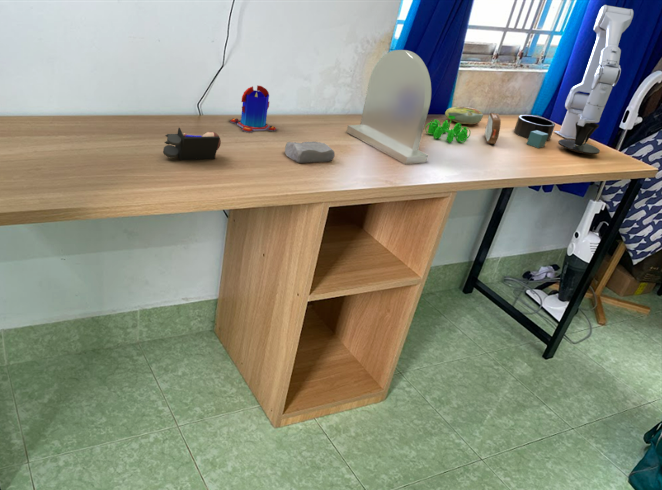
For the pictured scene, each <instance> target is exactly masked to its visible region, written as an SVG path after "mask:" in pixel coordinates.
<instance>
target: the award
mask: <svg viewBox="0 0 662 490" xmlns="http://www.w3.org/2000/svg"><path fill="white" fill-rule="evenodd" d="M431 81H432V80H431V77H430V73H429V70H428V67H427V66H426V64H425V62H424V61H423V59H422V58H421V57H420V56H419V55H418V54H417V53H415V52H414V51H411V50H407V49H395V50H390V51H388V52H387V53H385V54H384V55H382V56H381V57H380V59H379V60H378V61H377V62H376V64H375V65H374V67H373V69H372V72H371V73H370V77H369V80H368V84H367V88H366V93H365V98H364V99H365V100H364V104H363V109H362V114H361V119H360V124H349V125H347V128H346V133H347V134H349V135H351V136H352V137H355V138H356V139H358V140H360V141H363V143H365V144H367V145H369V146H371V147H373V148H374V149H376V150H378V151H379V152H382V153H384V154H386V155H387V156H389V157H391V158H392V159H395V160H396V161H398V162H400V163H402V164H404V165H413V164H422V163H427V162H428V158H429V155H428V153H425V152H423V151H421V150H419V148H420V145H421V141H422V137H423V133H424V129H425V126H426V121H427V117H428V113H429V110H430V106H431V100H432V82H431Z"/></svg>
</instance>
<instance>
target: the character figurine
mask: <svg viewBox="0 0 662 490" xmlns="http://www.w3.org/2000/svg"><path fill="white" fill-rule="evenodd" d="M164 136H165V137H166V141H164V144H166V145H164V146H163V150H162V152H163V155H164V156H166V157H167V158H173V159H174V158H177V157H178V159H179V161H194V160H215V159H216V155H217V151H218V150H219V149H220V147H221V143H222V140H221V137H220V136H219V134H218V133H216V132H214V131H207V132H205V133H204V134H203V135H195V134H194V135H192V134H187V133H185V132H184V133H183V132H182V130H181V128H180V127H178V129H177V133H167V134H165V135H164Z"/></svg>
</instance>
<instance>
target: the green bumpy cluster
mask: <svg viewBox="0 0 662 490" xmlns="http://www.w3.org/2000/svg"><path fill="white" fill-rule="evenodd" d="M448 118H450V120H449V119H448ZM448 118H447V119H445V120H444V121H443V122H442V124H441V122H440V120H439V119H431V120H430V122H428V123H427V124H425V127H424V129H425V130H424V131H425V133H426V134H427V135H429V136H433V139H435V140H439V139H441V137H442V136H443V134H445V133H446V134H447V135H446V141H447V143H449V144H450V143H452V142H453V141H454V138H455V141H456V142H457V143H459V144H462V143H463V144H464V143H466V141H467V140H468V139H469V138H470V136H471V133H469V134H468V132H471V130H470V128H469V127H468V126H462V123H457V122H456V123H455V125H454V126H453V128H450V127H451V124H452V119H455V117H454V116H448ZM427 127H428V129H427Z"/></svg>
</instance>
